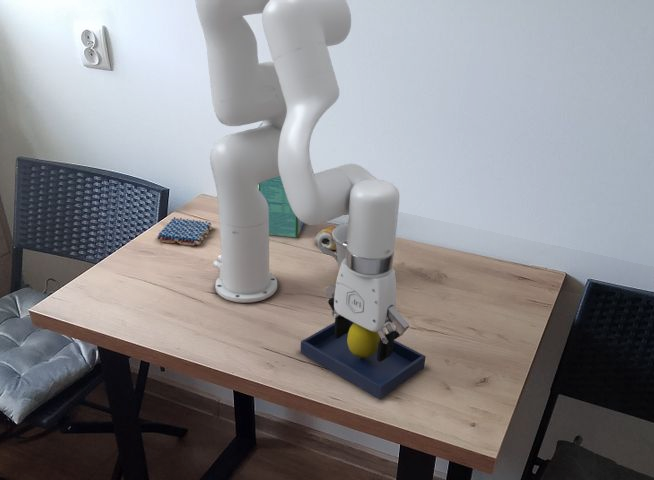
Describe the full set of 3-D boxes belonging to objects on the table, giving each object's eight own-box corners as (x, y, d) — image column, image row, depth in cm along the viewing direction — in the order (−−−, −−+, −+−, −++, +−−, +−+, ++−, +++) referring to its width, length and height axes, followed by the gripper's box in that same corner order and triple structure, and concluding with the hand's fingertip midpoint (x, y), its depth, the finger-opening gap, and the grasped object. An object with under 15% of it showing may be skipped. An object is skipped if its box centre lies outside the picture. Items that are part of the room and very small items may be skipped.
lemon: (341, 362, 122) (344, 324, 117) (352, 345, 126) (354, 308, 122) (372, 370, 120) (375, 331, 116) (381, 353, 125) (385, 315, 120)
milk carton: (297, 238, 163) (298, 130, 148) (259, 233, 164) (257, 126, 150) (305, 221, 170) (307, 117, 155) (268, 217, 171) (267, 114, 157)
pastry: (341, 231, 166) (342, 216, 164) (362, 241, 162) (363, 226, 160) (312, 243, 160) (313, 228, 158) (333, 254, 156) (333, 238, 154)
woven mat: (214, 228, 166) (214, 220, 165) (198, 248, 157) (198, 240, 156) (173, 223, 168) (172, 215, 167) (155, 242, 159) (154, 234, 158)
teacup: (317, 261, 153) (318, 219, 147) (385, 264, 153) (389, 221, 147) (315, 289, 143) (317, 245, 138) (388, 292, 143) (393, 248, 137)
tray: (300, 353, 125) (300, 341, 124) (345, 326, 132) (346, 315, 131) (379, 399, 115) (381, 386, 113) (424, 368, 122) (425, 356, 121)
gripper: (314, 247, 115) (311, 334, 125) (397, 286, 105) (387, 377, 115) (344, 233, 119) (339, 318, 129) (427, 269, 109) (415, 358, 119)
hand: (362, 346), depth 122 cm, fingers open, 9 cm apart
